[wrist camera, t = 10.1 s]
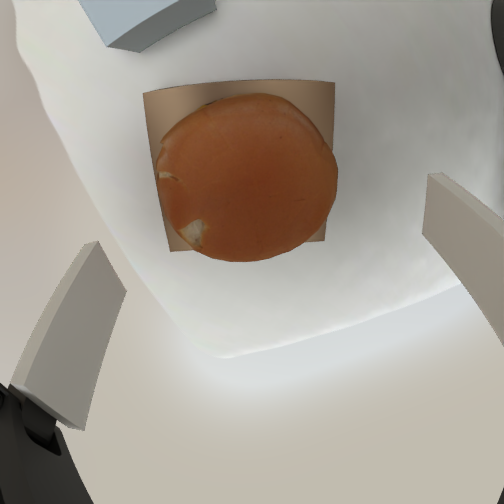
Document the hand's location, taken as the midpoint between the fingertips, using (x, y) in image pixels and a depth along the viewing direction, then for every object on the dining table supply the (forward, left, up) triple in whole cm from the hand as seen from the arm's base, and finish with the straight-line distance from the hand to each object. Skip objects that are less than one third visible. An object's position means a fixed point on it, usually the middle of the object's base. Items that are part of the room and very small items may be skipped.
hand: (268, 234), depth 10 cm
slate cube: (+3, -13, -12) cm, 18 cm away
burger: (0, 0, -8) cm, 8 cm away
